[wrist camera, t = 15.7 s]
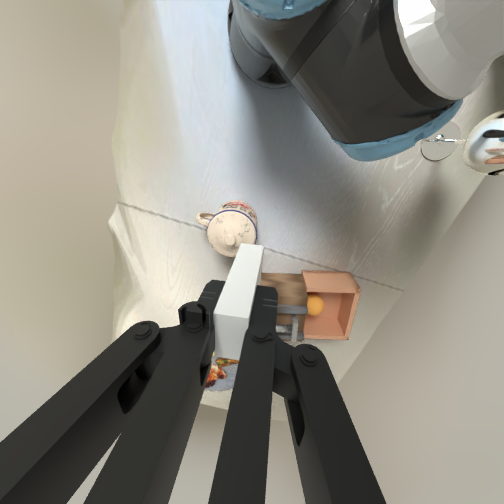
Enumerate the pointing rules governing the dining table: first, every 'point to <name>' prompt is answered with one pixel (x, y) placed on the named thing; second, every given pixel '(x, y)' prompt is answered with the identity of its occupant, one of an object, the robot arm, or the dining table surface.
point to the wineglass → (471, 144)
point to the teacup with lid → (230, 227)
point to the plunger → (289, 327)
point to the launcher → (288, 300)
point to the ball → (315, 304)
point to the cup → (331, 304)
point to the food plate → (221, 374)
